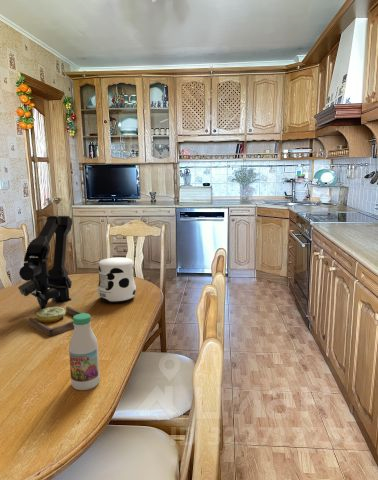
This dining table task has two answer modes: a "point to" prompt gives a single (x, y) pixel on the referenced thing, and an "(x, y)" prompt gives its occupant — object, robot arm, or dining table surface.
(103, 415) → the dining table surface
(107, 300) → the milk container
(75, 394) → the dining table surface
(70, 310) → the u-shaped brown rail
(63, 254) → the robot arm
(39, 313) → the decorated donut
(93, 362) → the milk bottle
